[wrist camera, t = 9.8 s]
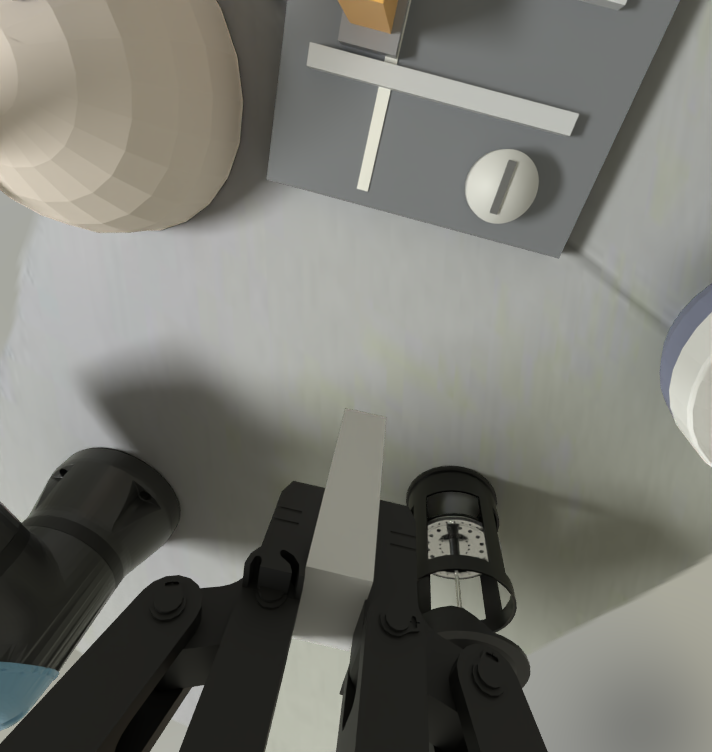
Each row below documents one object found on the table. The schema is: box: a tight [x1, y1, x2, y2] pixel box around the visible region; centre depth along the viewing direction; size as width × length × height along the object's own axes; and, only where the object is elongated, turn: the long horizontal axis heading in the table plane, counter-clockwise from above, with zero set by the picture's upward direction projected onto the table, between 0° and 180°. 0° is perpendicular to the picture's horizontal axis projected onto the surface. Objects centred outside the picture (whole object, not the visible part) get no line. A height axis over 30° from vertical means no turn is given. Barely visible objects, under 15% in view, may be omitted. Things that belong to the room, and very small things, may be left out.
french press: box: [406, 466, 530, 688], centre depth 35 cm, size 12×9×23 cm
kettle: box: [0, 0, 243, 233], centre depth 23 cm, size 20×21×18 cm
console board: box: [266, 0, 680, 258], centre depth 26 cm, size 22×18×4 cm
